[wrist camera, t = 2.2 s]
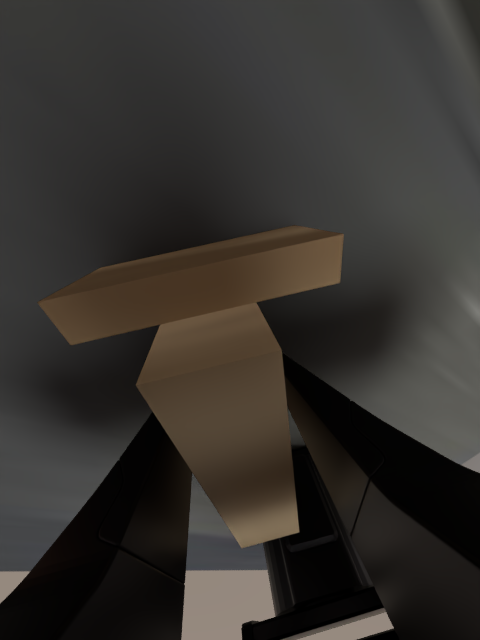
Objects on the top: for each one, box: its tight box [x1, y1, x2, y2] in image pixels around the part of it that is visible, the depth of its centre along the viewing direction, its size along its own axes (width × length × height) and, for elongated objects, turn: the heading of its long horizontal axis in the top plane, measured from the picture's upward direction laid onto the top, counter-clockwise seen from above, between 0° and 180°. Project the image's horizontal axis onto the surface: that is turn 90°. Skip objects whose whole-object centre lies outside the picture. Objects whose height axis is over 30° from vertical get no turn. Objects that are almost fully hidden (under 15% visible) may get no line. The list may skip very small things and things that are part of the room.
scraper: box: [37, 225, 344, 548], centre depth 8 cm, size 11×7×5 cm, turn 11°
